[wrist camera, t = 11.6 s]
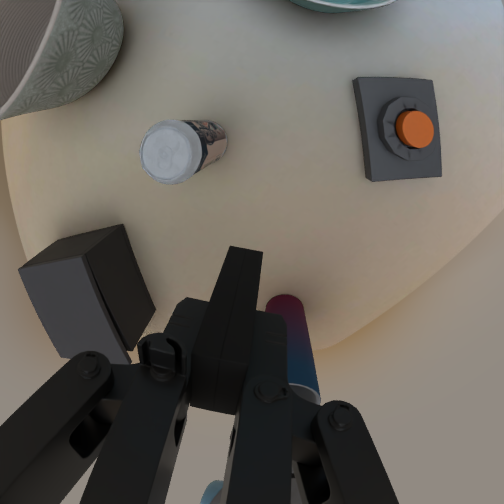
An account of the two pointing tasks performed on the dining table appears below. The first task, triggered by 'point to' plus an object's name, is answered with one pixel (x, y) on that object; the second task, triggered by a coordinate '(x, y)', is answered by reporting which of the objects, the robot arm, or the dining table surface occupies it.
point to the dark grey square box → (110, 277)
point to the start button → (414, 129)
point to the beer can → (181, 149)
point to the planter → (54, 51)
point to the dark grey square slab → (72, 308)
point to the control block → (384, 127)
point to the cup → (297, 347)
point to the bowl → (341, 5)
